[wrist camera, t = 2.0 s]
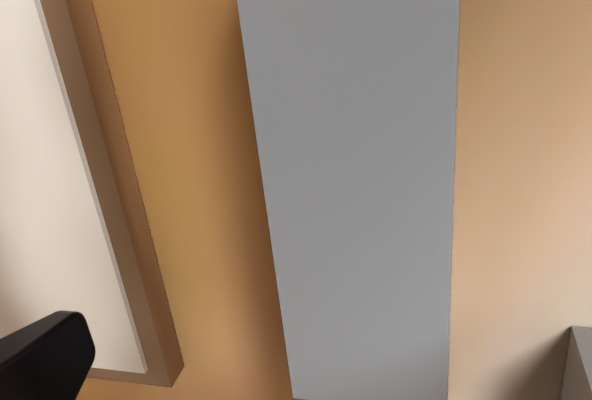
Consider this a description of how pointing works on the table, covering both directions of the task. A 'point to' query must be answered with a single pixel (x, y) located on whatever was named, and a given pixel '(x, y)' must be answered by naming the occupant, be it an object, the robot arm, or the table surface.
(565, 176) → the table surface
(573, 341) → the button housing
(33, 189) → the drawing board
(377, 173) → the grey rectangular block
